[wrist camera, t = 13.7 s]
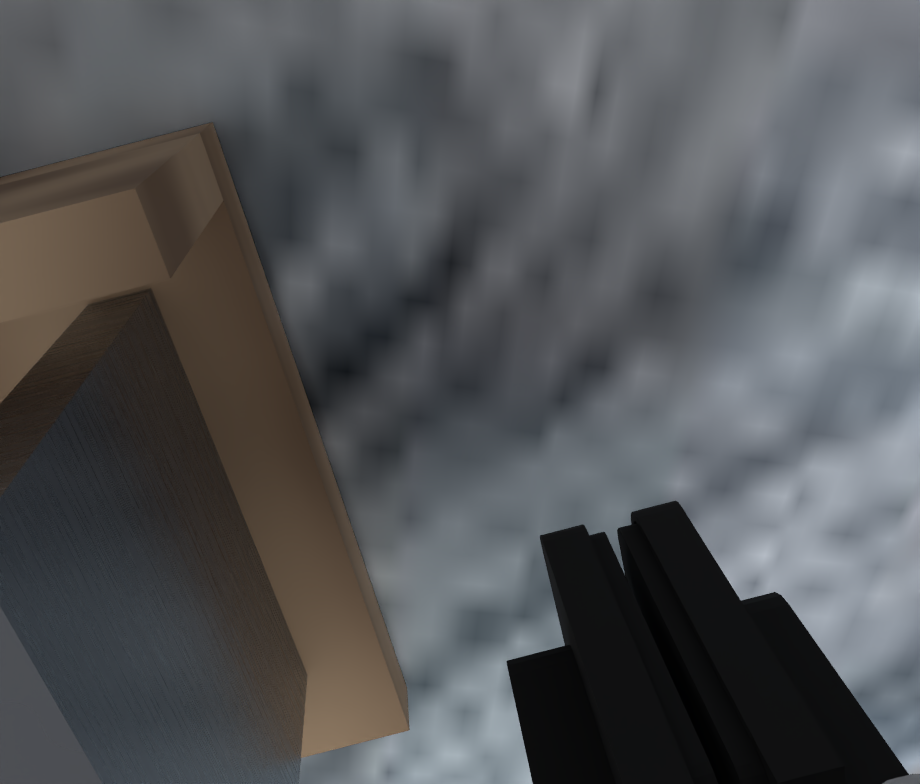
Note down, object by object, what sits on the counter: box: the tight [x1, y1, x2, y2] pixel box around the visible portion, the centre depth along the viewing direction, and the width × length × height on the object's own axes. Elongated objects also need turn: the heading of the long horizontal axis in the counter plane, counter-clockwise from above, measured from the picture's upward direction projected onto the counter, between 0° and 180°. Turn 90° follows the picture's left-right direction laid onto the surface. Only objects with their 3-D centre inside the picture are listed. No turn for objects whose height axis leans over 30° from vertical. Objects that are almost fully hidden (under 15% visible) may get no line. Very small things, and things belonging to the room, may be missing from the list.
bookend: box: [0, 288, 308, 784], centre depth 12 cm, size 1×8×7 cm, turn 13°
